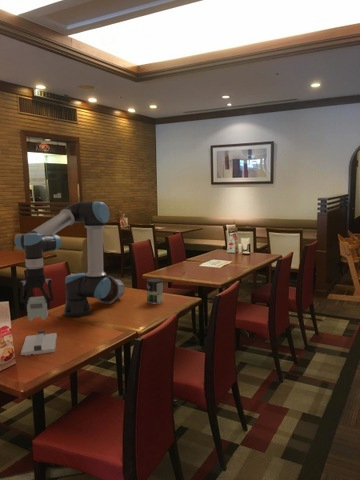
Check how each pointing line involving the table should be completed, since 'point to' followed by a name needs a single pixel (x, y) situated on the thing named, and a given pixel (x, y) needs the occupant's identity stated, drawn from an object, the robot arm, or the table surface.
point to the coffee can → (155, 290)
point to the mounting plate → (39, 343)
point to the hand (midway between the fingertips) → (38, 316)
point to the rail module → (36, 307)
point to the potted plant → (113, 291)
